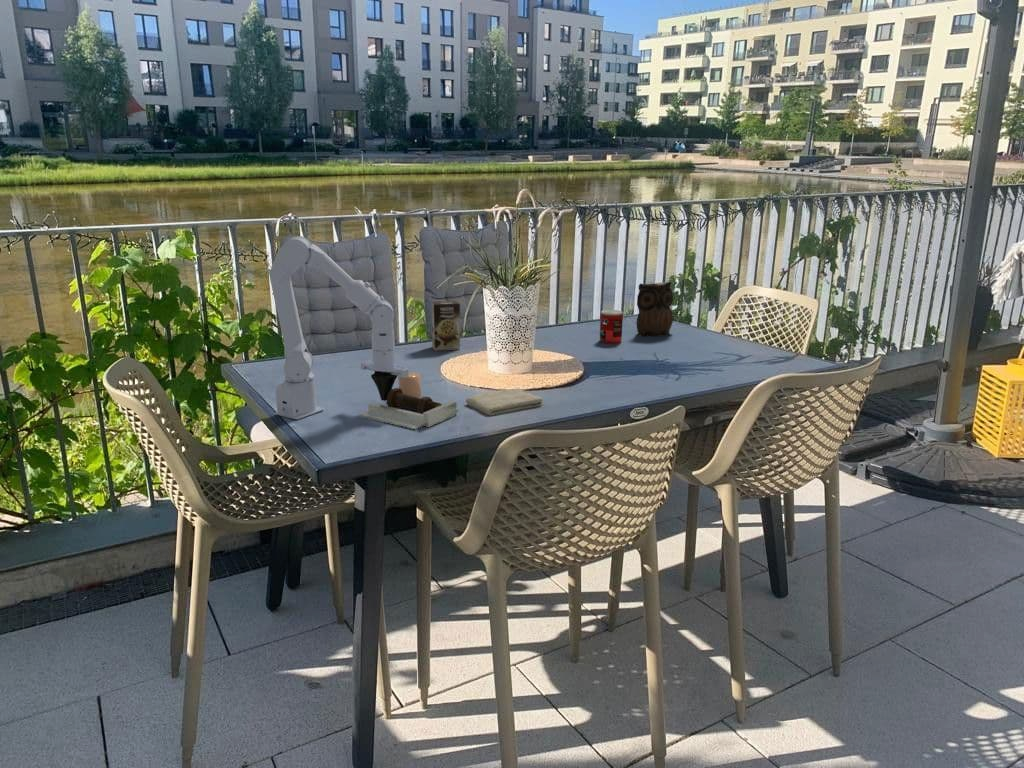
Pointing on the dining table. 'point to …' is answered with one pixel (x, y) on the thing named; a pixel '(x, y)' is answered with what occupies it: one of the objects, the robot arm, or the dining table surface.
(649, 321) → the owl
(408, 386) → the tan rounded block
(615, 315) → the canned food
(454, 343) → the cookie box
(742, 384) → the dining table surface
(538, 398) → the washcloth
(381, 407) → the bracket
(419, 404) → the bolt
